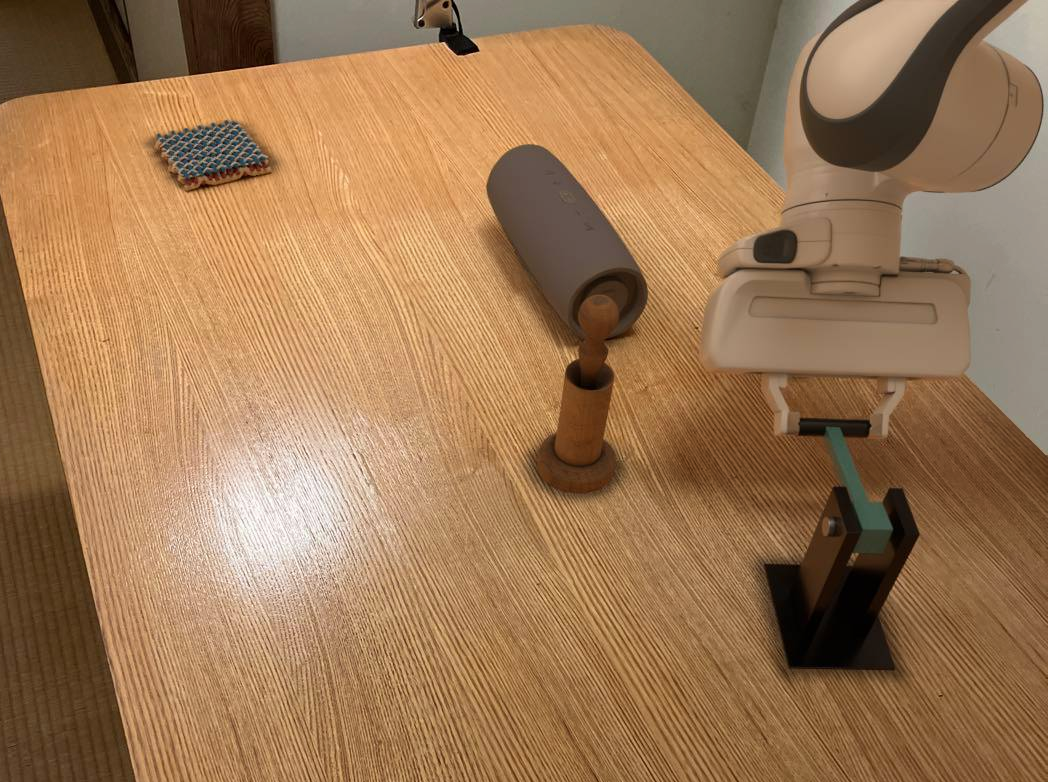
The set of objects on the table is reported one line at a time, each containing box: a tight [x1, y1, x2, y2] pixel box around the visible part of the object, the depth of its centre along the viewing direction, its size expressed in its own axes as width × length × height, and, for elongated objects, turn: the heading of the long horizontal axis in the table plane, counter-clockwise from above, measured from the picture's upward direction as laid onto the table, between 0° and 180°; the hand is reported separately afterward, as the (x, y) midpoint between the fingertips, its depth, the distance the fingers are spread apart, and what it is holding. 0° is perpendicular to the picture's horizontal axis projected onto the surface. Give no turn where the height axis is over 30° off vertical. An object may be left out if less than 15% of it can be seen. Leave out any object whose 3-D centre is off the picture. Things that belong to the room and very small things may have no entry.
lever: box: [796, 416, 893, 554], centre depth 78 cm, size 13×6×2 cm, turn 1°
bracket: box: [763, 485, 921, 671], centre depth 78 cm, size 10×8×13 cm
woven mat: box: [154, 119, 273, 192], centre depth 121 cm, size 10×11×2 cm
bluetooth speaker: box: [486, 143, 649, 341], centre depth 107 cm, size 23×9×10 cm, turn 20°
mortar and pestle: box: [536, 295, 619, 494], centre depth 85 cm, size 7×6×18 cm
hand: (829, 437), depth 82 cm, fingers closed on lever, 5 cm apart
